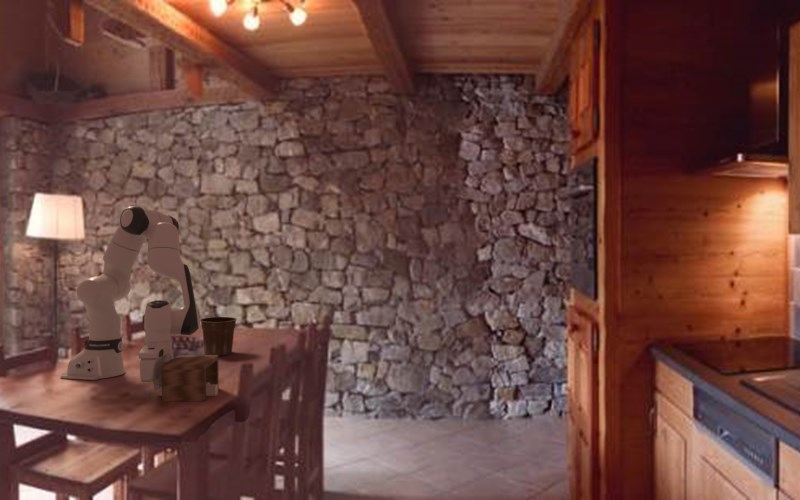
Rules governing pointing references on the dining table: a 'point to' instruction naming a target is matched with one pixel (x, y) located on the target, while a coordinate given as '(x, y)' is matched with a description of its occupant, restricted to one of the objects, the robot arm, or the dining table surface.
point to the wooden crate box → (188, 377)
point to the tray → (210, 389)
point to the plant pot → (218, 335)
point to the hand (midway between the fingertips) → (158, 388)
